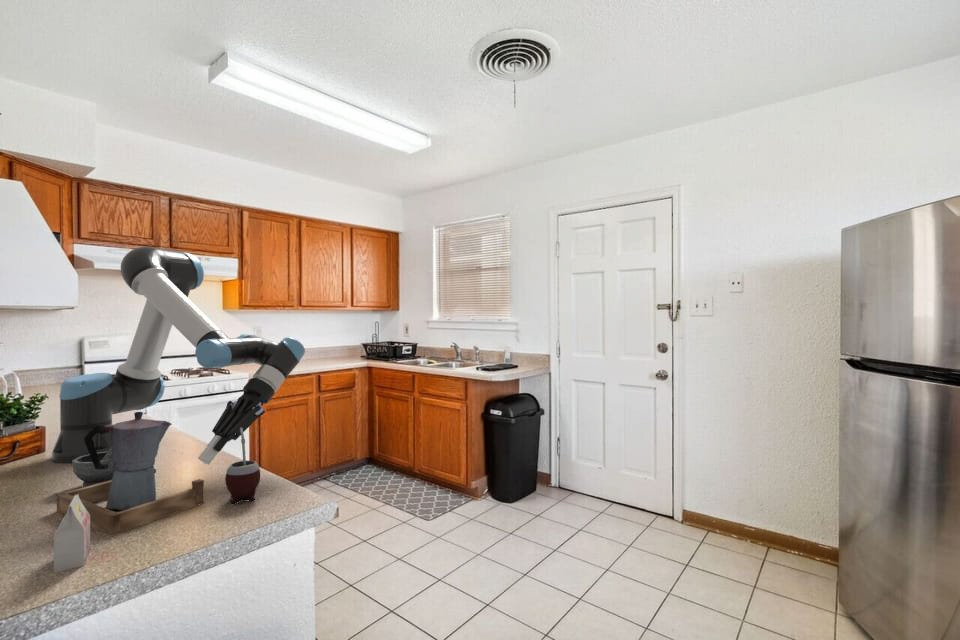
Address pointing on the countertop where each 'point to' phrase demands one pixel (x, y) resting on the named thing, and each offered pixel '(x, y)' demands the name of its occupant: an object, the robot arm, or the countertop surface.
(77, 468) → the mortar and pestle
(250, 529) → the countertop surface
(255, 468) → the mate gourd
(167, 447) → the countertop surface
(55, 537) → the white paper packet
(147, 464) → the moka pot
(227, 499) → the countertop surface
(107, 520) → the bay
